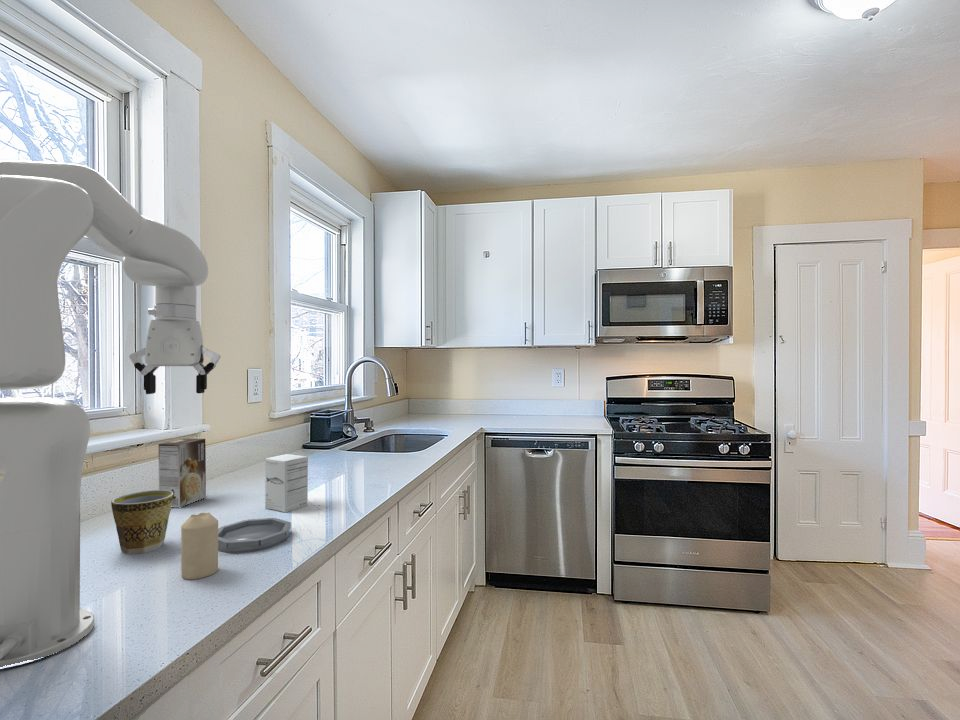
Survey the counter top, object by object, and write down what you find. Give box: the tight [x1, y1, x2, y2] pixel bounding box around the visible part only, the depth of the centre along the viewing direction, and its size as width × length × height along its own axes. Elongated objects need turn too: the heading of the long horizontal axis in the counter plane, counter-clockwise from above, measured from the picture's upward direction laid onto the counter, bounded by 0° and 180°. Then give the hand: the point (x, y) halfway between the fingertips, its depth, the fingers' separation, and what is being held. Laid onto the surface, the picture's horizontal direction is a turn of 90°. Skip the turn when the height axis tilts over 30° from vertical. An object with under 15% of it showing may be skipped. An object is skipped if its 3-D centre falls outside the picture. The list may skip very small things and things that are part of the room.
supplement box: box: [264, 453, 309, 513], centre depth 121 cm, size 7×7×13 cm
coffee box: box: [157, 438, 207, 508], centre depth 125 cm, size 9×6×16 cm
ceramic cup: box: [110, 489, 173, 555], centre depth 95 cm, size 13×10×10 cm
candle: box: [180, 512, 219, 580], centre depth 83 cm, size 6×6×10 cm
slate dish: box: [218, 517, 292, 554], centre depth 99 cm, size 14×14×2 cm
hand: (175, 393), depth 104 cm, fingers open, 9 cm apart
